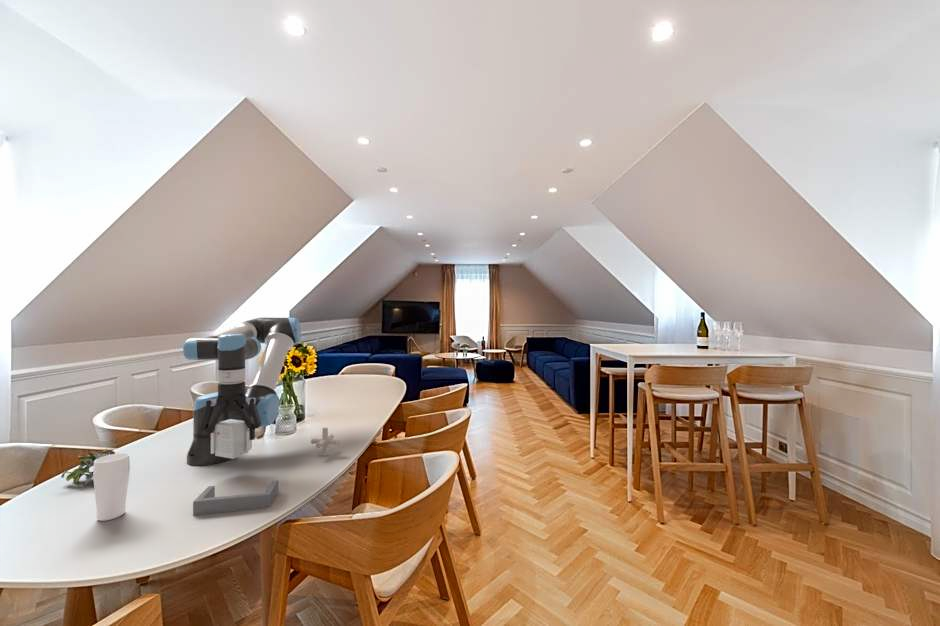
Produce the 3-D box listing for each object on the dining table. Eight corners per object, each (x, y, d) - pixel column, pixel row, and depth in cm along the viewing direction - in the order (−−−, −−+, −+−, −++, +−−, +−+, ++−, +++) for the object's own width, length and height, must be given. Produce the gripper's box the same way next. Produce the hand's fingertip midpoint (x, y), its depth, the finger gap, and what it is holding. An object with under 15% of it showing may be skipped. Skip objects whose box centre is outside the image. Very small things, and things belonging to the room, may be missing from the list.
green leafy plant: (107, 493, 120) (136, 459, 123) (79, 503, 109) (112, 465, 113) (76, 473, 119) (106, 440, 123) (45, 482, 109) (79, 445, 112)
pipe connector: (343, 450, 144) (343, 424, 144) (331, 460, 134) (331, 432, 134) (318, 449, 145) (319, 423, 145) (304, 459, 135) (305, 431, 135)
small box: (248, 453, 123) (248, 421, 123) (232, 459, 118) (232, 426, 118) (230, 449, 126) (230, 418, 126) (214, 455, 120) (214, 423, 120)
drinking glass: (86, 526, 92) (87, 464, 92) (100, 512, 98) (101, 454, 98) (122, 520, 94) (123, 460, 94) (133, 507, 101) (134, 451, 101)
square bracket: (193, 515, 97) (193, 501, 97) (208, 498, 106) (208, 486, 106) (269, 507, 101) (269, 494, 101) (278, 492, 110) (278, 480, 110)
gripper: (186, 385, 115) (186, 458, 116) (266, 383, 120) (265, 452, 121) (198, 380, 123) (198, 449, 123) (272, 378, 128) (272, 444, 128)
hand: (231, 450), depth 122 cm, fingers closed on small box, 9 cm apart
